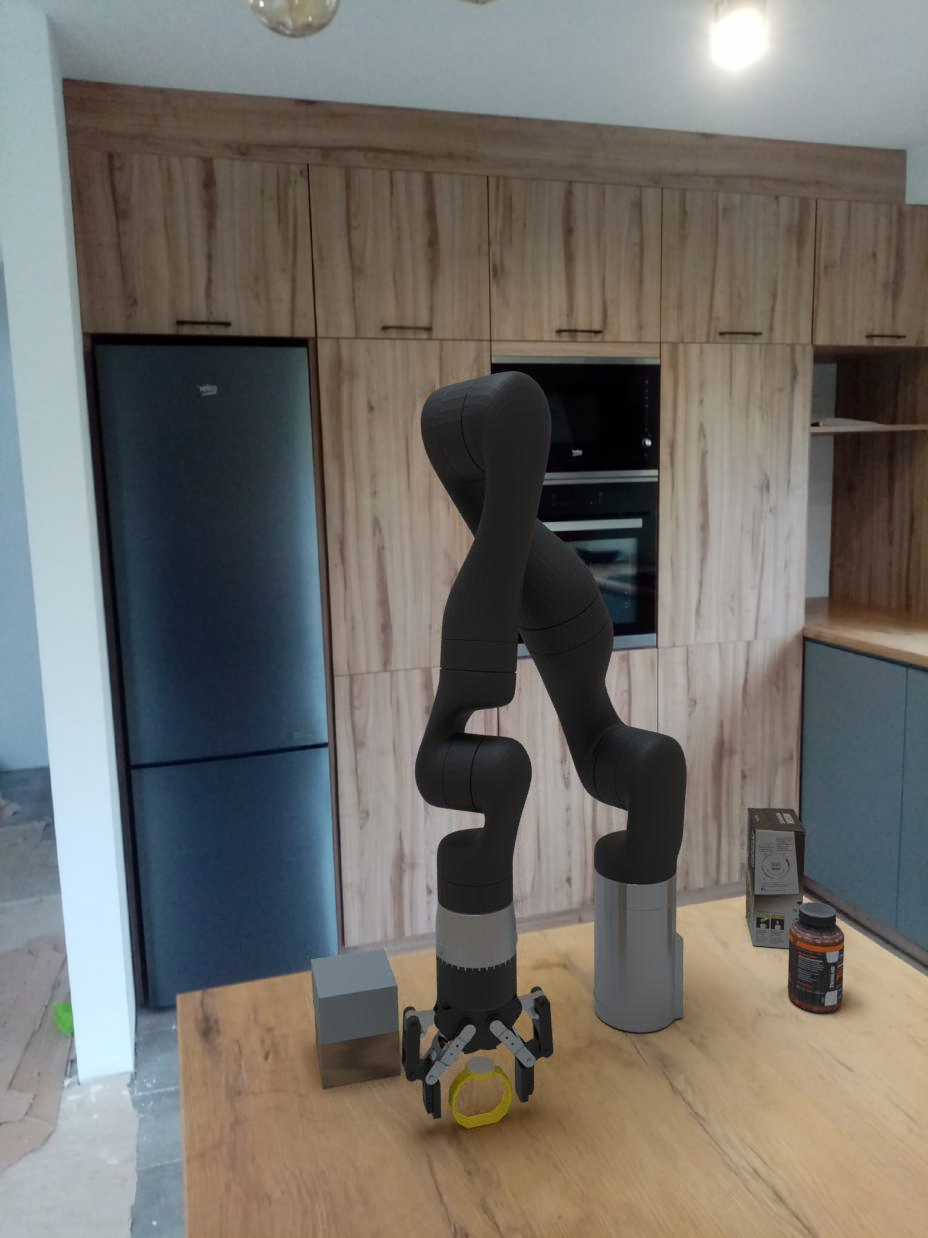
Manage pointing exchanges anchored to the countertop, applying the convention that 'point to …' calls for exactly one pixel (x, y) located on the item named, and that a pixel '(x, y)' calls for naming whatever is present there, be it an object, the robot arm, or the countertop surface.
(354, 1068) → the walnut block
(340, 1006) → the grey block
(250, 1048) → the countertop surface
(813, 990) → the supplement bottle
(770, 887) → the coffee box
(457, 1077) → the watch
